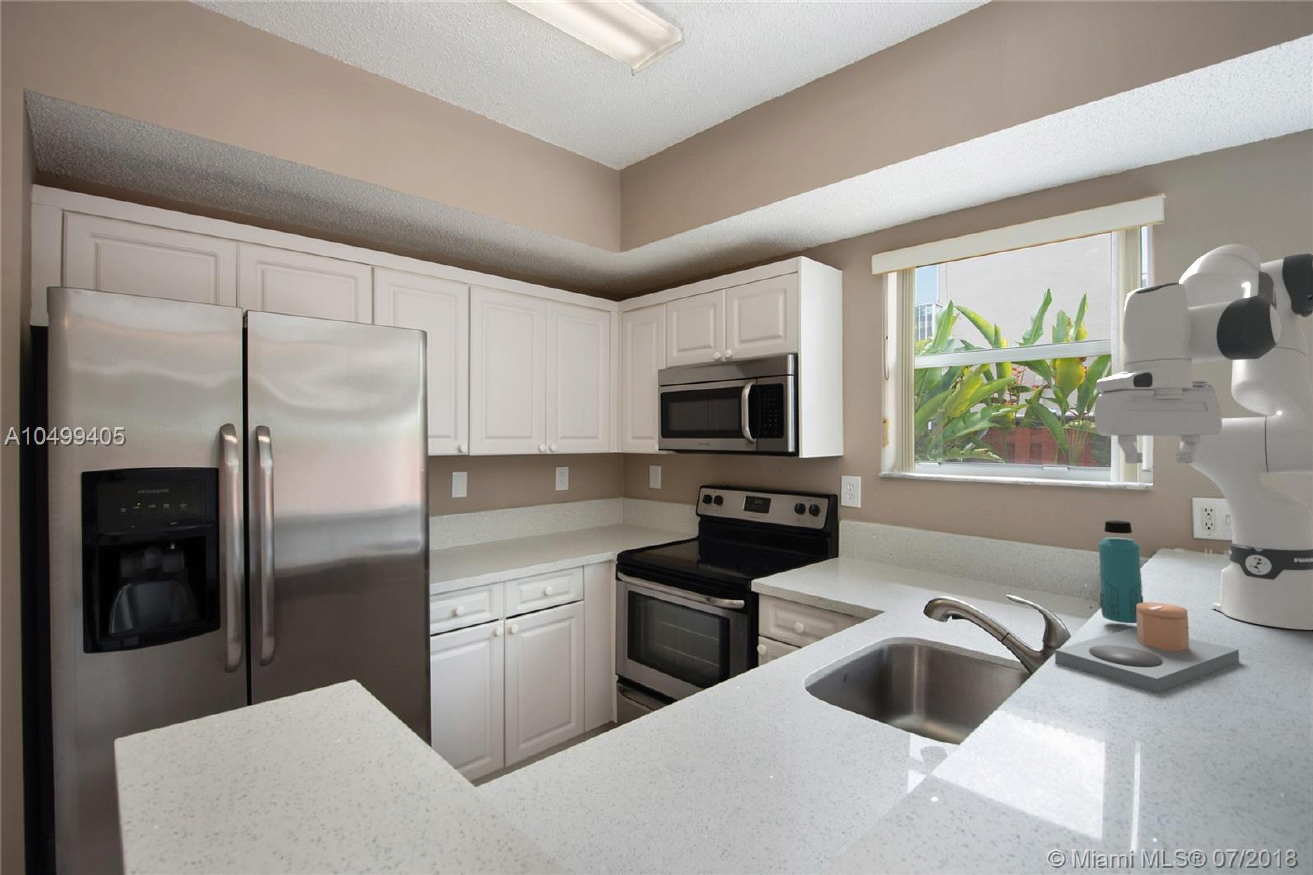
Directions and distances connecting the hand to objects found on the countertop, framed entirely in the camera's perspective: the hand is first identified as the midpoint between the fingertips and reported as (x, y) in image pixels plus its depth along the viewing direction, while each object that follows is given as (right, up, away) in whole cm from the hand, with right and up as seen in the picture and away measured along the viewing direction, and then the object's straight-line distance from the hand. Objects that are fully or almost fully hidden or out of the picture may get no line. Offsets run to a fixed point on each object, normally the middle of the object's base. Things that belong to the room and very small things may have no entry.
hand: (1159, 463), depth 102 cm
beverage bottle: (+4, -32, +14) cm, 35 cm away
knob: (-1, -30, -2) cm, 30 cm away
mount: (-6, -32, -4) cm, 32 cm away
